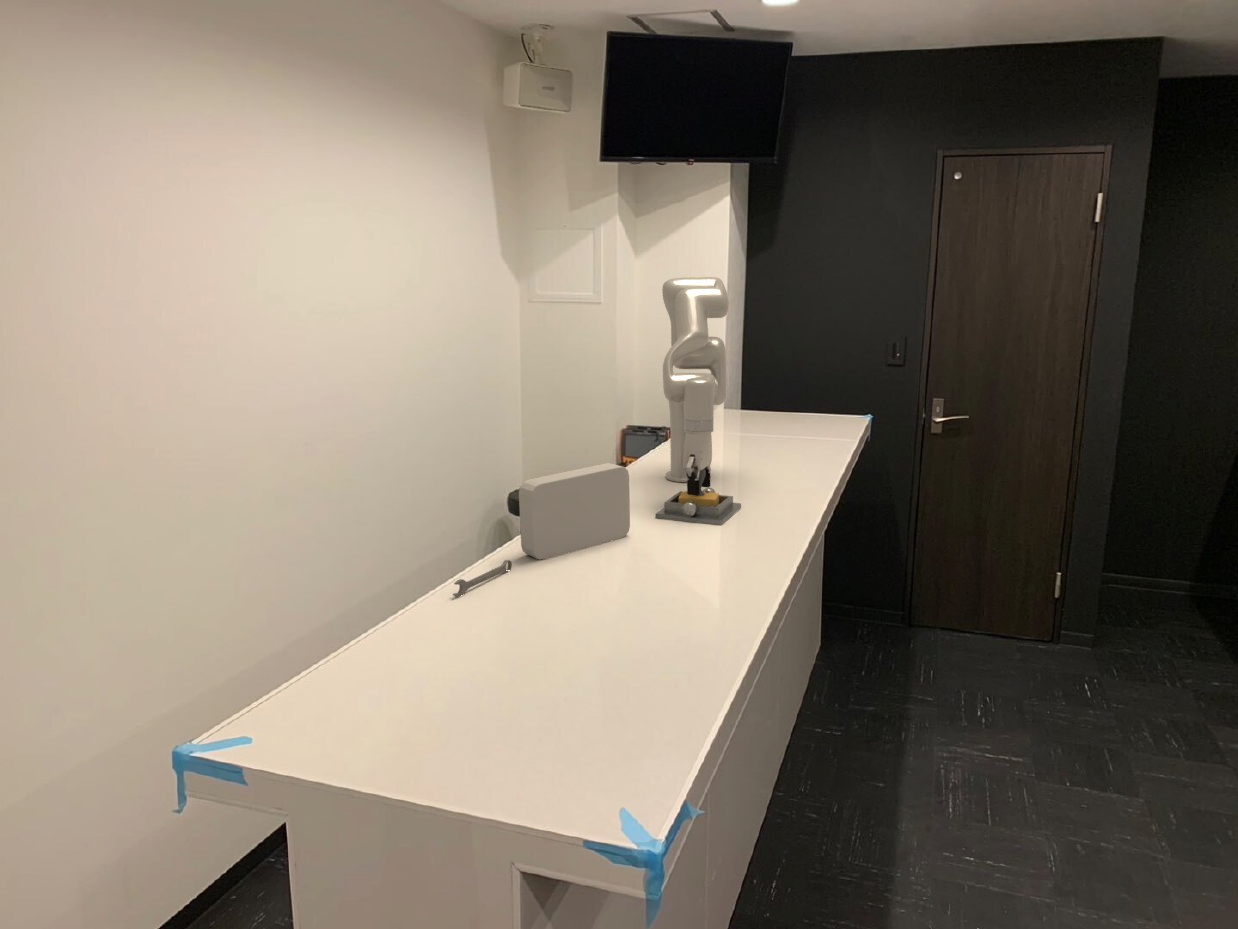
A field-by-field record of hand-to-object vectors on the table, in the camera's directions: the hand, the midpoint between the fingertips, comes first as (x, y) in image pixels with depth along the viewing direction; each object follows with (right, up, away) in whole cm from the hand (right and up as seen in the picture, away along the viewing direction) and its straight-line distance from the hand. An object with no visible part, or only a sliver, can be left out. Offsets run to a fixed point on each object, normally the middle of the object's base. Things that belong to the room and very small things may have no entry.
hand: (698, 490), depth 247 cm
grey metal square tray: (0, -6, +1) cm, 6 cm away
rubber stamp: (0, -5, +1) cm, 5 cm away
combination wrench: (-50, -19, -46) cm, 71 cm away
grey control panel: (-31, -13, -23) cm, 41 cm away
